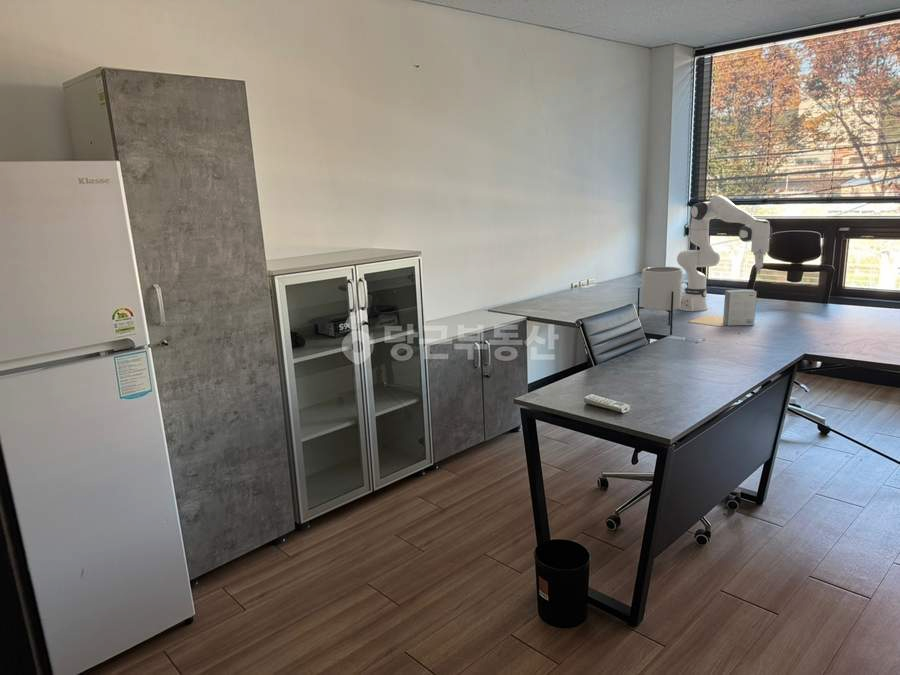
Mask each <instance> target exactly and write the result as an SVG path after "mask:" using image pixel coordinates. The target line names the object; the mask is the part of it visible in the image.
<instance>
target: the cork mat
mask: <svg viewBox="0 0 900 675" xmlns="http://www.w3.org/2000/svg"><path fill="white" fill-rule="evenodd" d="M723 317H724V316H723ZM723 317H722V316H716V315H715V316H714V315H709V314H706V315H703V316H701V317H697V318H694V319H692V320H690V321H688V323H690V322H691V323H692V324H697V325H698V324H699V325H706V326H713V327H720V328H722V327H724V326H727V325H726V324H724V323H723Z"/></svg>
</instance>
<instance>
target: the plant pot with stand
mask: <svg viewBox="0 0 900 675" xmlns="http://www.w3.org/2000/svg"><path fill="white" fill-rule="evenodd" d="M641 275H642V276H641V289H640V287H638V288H637V315H638V317H639V318H640V310H641V309H642V310H644V309H645V310H650V311H654V312H655V311H657V312H668V318H667V319H668V322H667V323H668V324H667V326H669V327H670V328H669V329H670V330H669V335H673V317H674V316H673V315H674V314H673V312H674V310H679V309H678V308H680V307H681V295H682V287H683V285H682V284H683V268H682V267H676V266H651V267H650V266H649V267H644V268H642V271H641ZM640 291H641V293H640ZM640 294H641V306H640Z"/></svg>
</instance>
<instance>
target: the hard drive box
mask: <svg viewBox="0 0 900 675" xmlns="http://www.w3.org/2000/svg"><path fill="white" fill-rule="evenodd" d="M757 294H758V292H757V291H756V290H754V289H730V290H729V289H728V290H727V289H726V290H725V291H724V304H723V307H724V308H723V323H724V324H726V325H725V326H727V327H728V326H754V325H755V318H756V307H757V306H756V305H757V296H758V295H757Z"/></svg>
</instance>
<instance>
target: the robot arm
mask: <svg viewBox="0 0 900 675" xmlns="http://www.w3.org/2000/svg"><path fill="white" fill-rule="evenodd" d="M690 215H691V220H690V228H689V229H690V230H689V231H690V232H689V233H690V234H689V240H690V243H691V244H693V245H695V246H697V247H699V249H689V250H683V251H680V252H679V253H678V255H677V258H676V261H677V264H678V265H679V266H680V268H681V269H683V270H684V271H685V273H686V275H687V287H685V288H684V289H683V291H684V293H682V294H681V307H680V308H678V309H677V310H681V311H685V312H686V311H687V312H701V311H706V310H708V304H707V276H706V275H705V274H704V273H703V272H701V271H699V270H697V268H711V267H715V266H716V267H717V265H718V264H719V263H720V258H721V257H720V253H719V251H717V250H715V249H714V248H713V246H712V245H711V243H710V237H709V236H710V235H709V232H710V221H711V219H714V220H716V219H720V220H721V221H723V222H725V223H736V224H737V223H738V224H742V226H741V227H740V228H739V231H738V237H739V240H740V241H742V242H745V243H751V250H750V252H751V253H753V256H754V266H755V268H756V274H761V270H762V268H763V267H764V256H766V255H767V253H769V251H770V239H771V237H772V235H773V228H772V226H771V225H770V221H769V220H767V219H763V218H757V217H756V216H754V215H752V214H751V213H749V212H748V211H746V210H744V209H742V208H741V207H739V206H738V205H736V204H734V203H733V202H732V201H731V200H730V199H728V198H727V197H725V196H724V195H718V194H717V195H714V196H713V197H712V198H711V199H710V200H707V201H703V202H696V203H694V204H693V205H692V206H691V208H690Z"/></svg>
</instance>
